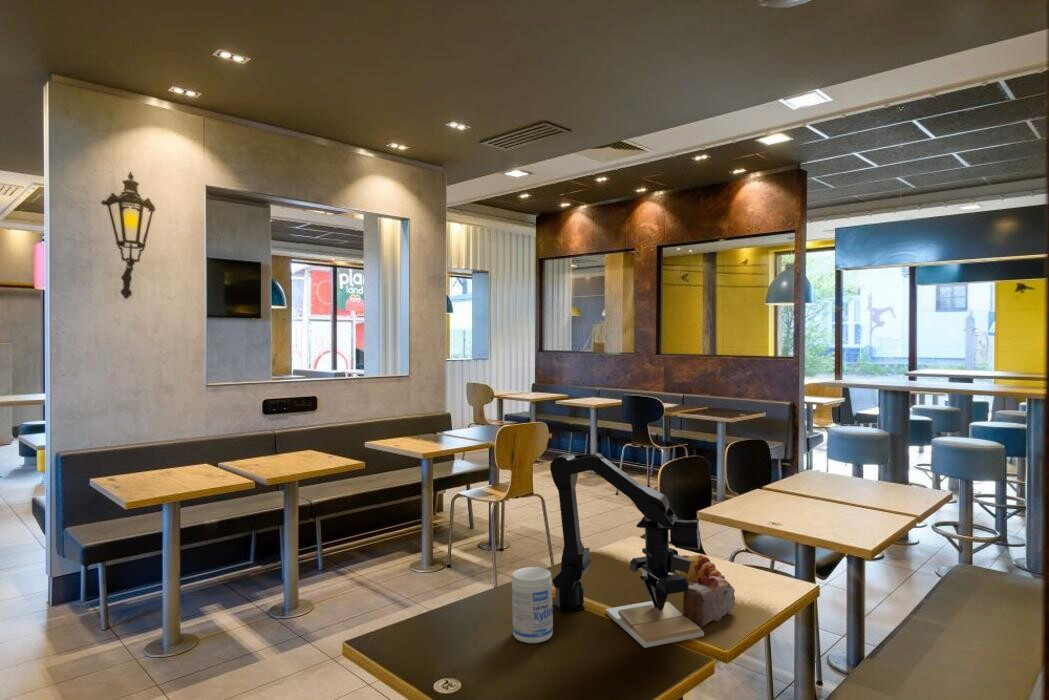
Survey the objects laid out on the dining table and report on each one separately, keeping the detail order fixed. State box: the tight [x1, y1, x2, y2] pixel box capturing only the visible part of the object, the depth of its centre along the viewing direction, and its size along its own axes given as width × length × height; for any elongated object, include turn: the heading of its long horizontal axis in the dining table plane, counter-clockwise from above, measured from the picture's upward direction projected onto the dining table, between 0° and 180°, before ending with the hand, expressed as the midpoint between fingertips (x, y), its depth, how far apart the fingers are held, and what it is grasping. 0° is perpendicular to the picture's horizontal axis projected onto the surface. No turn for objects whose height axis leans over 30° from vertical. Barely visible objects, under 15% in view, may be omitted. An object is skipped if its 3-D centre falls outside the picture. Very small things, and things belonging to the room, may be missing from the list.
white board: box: [605, 600, 705, 649], centre depth 153 cm, size 16×20×2 cm
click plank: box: [618, 601, 684, 629], centre depth 154 cm, size 14×7×1 cm, turn 108°
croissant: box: [674, 554, 726, 583], centre depth 183 cm, size 21×10×8 cm, turn 30°
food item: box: [682, 576, 736, 628], centre depth 156 cm, size 14×8×10 cm, turn 132°
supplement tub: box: [511, 566, 554, 644], centre depth 149 cm, size 10×10×15 cm
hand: (658, 608), depth 156 cm, fingers closed
